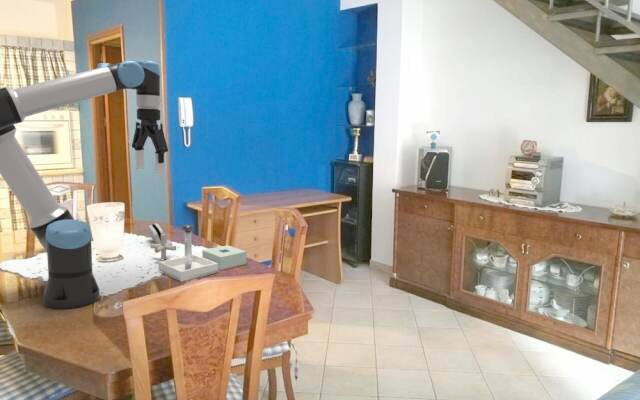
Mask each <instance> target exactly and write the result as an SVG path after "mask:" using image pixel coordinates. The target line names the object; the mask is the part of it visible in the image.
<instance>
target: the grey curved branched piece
mask: <svg viewBox="0 0 640 400" xmlns="http://www.w3.org/2000/svg"><path fill="white" fill-rule="evenodd" d="M147 229H148V231H149V234H150V238H151V239H152V241H153V242H154V244H161V234H165V232H164V229H162V227H161V226H160V224H158V223H156V222H155V223H152V224H149V225H148V226H147ZM168 242H170V241H169V240H168V239H167V238H166V243H168Z"/></svg>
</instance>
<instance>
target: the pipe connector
mask: <svg viewBox="0 0 640 400" xmlns="http://www.w3.org/2000/svg"><path fill="white" fill-rule="evenodd" d="M166 239H167V235H166V234H165V233H164V234H161V244H156V243H151V244H150V249H154V252H155V253H156V254H157V253H160V258H161V259H166V260H167V250H168V251H176V250H177V246H176V245H173V243H172V242H171V241H169V242H168V243H166ZM161 259H160V260H161Z"/></svg>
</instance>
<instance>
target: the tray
mask: <svg viewBox="0 0 640 400" xmlns="http://www.w3.org/2000/svg"><path fill="white" fill-rule="evenodd" d="M159 270H160V271H162V272H163V273H162V272H161V273H162V274H164V275H165V276H168V277H170V278H172V279H174V280H176V281H178V282H181V283H182V282H185V281H191V280H194V279H197V278H198V279H199V278H202V277H206V276H210V275H213V274H218V271H219V269H218V263H215V262H213V261H210V260H208V259H205V258H203V257H202V256H200V255H197V254H192V269H188V270H185V255H184V256H181V257H176V258H171V259H166V260H160V261H158V271H159Z"/></svg>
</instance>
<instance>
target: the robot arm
mask: <svg viewBox="0 0 640 400" xmlns="http://www.w3.org/2000/svg"><path fill="white" fill-rule="evenodd" d="M127 89H129V90H135V91H136V95H135V96H136V99H135V100H136V107H137V109H136V119H137V120H138V121H136V122H135V129H134V134H133V140H132V144H131V147H132V148H133V149H134V151H135V169H136V170H140V169H141V170H143V169H145V151H144V150H145V148H144V146H145V144H146V141H147V139H148V137H149V138H150V140H151V142H152V144H153V146H154V149H155V151H154V154H155V155H154V157H155V158H154V160H155V165H154V167H155V169H154V170H155V174H161V173H162V174H164V173H165V153H167V152H169V147H168V145H167V144H168V143H167V141H166V137H165V133H164V128H163V123H160V122H159V123H158V121H161V110H160V108H161V102H162V101H161V71H160V65H159V63H157V62H156V61H154V60H153V61H152V60H136V61H133V60H125V61H122V62H118V63H109V62H107V63H106V62H105V63H104V62H102V63H101V62H100V63H98V64H97V66H96V68H94V69H89V70H87V71H86V70H85V71H82V72H78V73H73V74H70V75H66V76H62V77H57V78H53V79H50V80H49V79H48V80H46V81H41V82H37V83H33V84H30V85H25V86H22V87H17V88H14V89H12V88H9V87H7V86H5V87H1V88H0V175H1V177H2V179H3V181H4V182H5V183H6V185H7V186H8V187H9V189H10V190H11V192H12V193H13V195H14V196H15V199H17V201H18V202H19V204H20V205H21V207H22V208H23V209H24V211H25V212H26V214H27V215H28V216H29V217H28V218H30V222H29V225H28V226H29V228H30V229H31V231H32V232H33V233H34V235H35V237H36V238H37V239H38V241H39V243H40V245H41V247H42V248H44V250H45V252H46V255H47V270H48V276H47V277H48V278H47V281H46V285H45V286H44V287H45V288H44V291H43V294H42V304H43V306H45V307H46V308H47V307H48V308H50V309H55V310H56V309H59V310H60V309H61V310H63V309H74V308H79V307H83V306H87V305H90V304H92V303H94V302H96V301H97V300H98V299H99V298H100V295H101V294H100V288H99V285H98V283H97V280H96V278H95V275H94V273H93V259H92V258H93V257H92V256H93V255H92V254H93V253H92V250H93V249H92V238H93V237H92V231H91V226H90V225H89V224H88V222H86V221H83V220H78V219H75V218H74V217H73V215H72V213H71V212H70V210H69V209H68V207H67V206H64V205H60V204H59V203H58V202H57V200H56V198H55V197H54V195H53V194H52V192H51V190H50V189H49V188H48V186H47V184H46V183H45V182H44V180H43V178H42V177H41V175H40V173H39V172H38V171H37V169H36V168H35V166H34V164H33V163H32V161H31V160H30V158H29V156H28V155H27V153H26V152H25V150H24V149H23V147H22V146H21V144H20V143H19V141H18V140H17V138H16V133H17V132H16V131H17V128H16V126H15V125H16V124H19V123H23V122H24V121H25V119H26V118H28V117H30V116H33V115H37V114H41V113H45V112H48V111H50V110H51V111H52V110H55V109H58V108H62V107H66V106H68V105H72V104H76V103H80V102H82V101H87V100H91V99H93V98H96V97H101V96H105V95H108V94H111V93H114V92H118V91H122V90H123V91H124V90H127Z"/></svg>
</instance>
